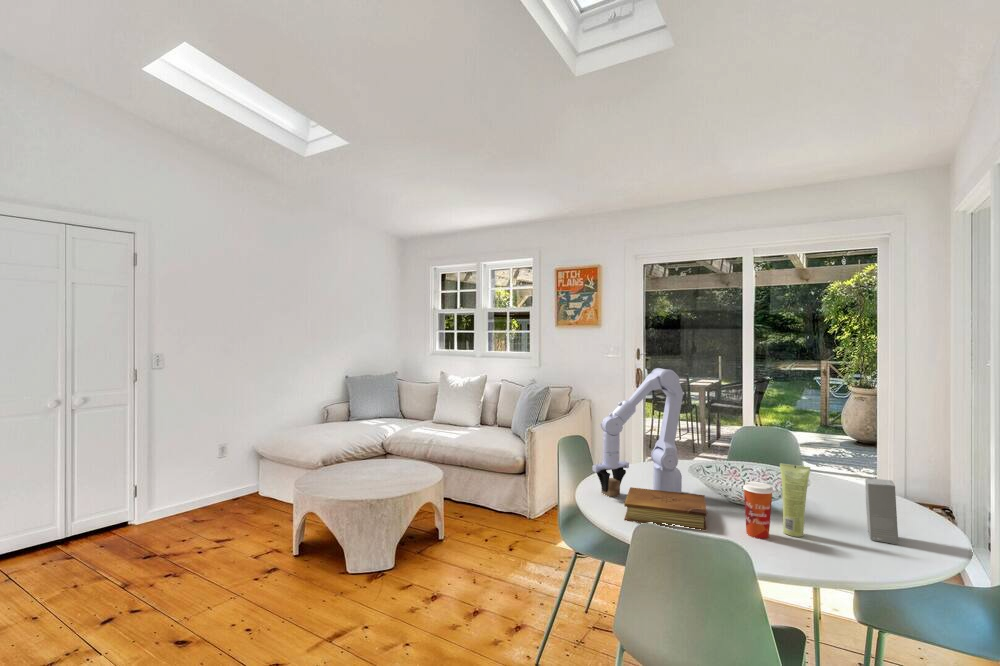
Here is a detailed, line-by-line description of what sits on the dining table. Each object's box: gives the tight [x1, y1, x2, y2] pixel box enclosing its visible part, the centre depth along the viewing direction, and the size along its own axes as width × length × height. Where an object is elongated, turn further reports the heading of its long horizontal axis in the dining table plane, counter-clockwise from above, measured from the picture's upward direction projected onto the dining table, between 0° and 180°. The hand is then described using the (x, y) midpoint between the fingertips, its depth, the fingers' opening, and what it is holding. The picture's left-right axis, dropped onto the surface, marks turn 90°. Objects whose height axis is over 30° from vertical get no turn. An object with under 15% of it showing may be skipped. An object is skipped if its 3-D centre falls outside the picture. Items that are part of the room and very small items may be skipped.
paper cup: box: [742, 481, 775, 540], centre depth 145 cm, size 8×8×14 cm
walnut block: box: [600, 477, 621, 498], centre depth 180 cm, size 4×4×5 cm
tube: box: [779, 462, 811, 538], centre depth 146 cm, size 6×5×20 cm
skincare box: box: [864, 477, 899, 546], centre depth 144 cm, size 8×7×16 cm
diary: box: [624, 487, 708, 531], centre depth 160 cm, size 23×19×6 cm
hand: (610, 490), depth 180 cm, fingers closed on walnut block, 4 cm apart
